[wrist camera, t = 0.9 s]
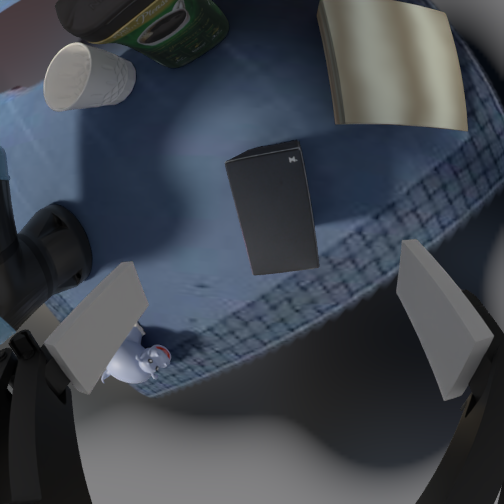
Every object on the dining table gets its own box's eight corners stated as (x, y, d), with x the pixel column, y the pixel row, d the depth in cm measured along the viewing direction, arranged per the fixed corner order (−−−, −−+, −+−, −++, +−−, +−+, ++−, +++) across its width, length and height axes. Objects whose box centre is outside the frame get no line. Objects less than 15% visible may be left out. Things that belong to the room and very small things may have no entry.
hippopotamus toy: (191, 358, 46) (175, 398, 37) (137, 365, 50) (118, 398, 42) (158, 313, 42) (132, 353, 34) (106, 328, 47) (81, 360, 38)
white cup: (106, 52, 25) (57, 42, 16) (149, 59, 25) (102, 44, 16) (88, 103, 28) (36, 106, 19) (128, 115, 29) (76, 117, 20)
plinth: (335, 124, 27) (345, 123, 21) (316, 15, 21) (321, -6, 15) (441, 128, 24) (467, 131, 19) (424, 26, 18) (445, 12, 13)
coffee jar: (207, -4, 21) (135, -82, 4) (240, 34, 23) (181, -50, 7) (144, 39, 24) (38, 2, 7) (172, 79, 26) (60, 52, 10)
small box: (242, 149, 29) (219, 160, 20) (299, 139, 28) (303, 143, 19) (262, 234, 34) (249, 278, 24) (314, 226, 32) (323, 269, 23)
